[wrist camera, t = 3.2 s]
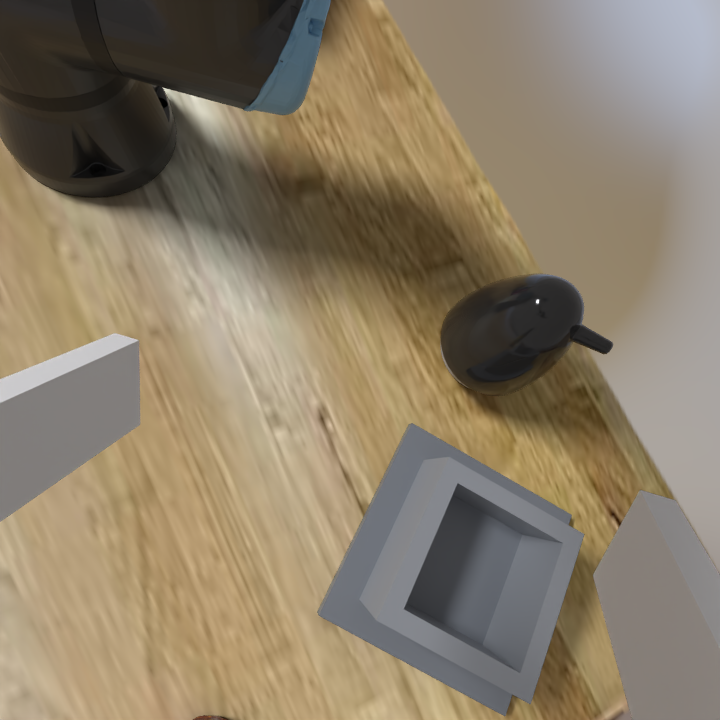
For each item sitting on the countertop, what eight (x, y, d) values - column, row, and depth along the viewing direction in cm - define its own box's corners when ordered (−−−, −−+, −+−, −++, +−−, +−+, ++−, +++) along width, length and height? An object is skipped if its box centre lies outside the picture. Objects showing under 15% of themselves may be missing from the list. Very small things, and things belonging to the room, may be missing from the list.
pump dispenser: (487, 424, 45) (591, 398, 31) (407, 357, 45) (475, 300, 31) (536, 351, 49) (651, 297, 34) (462, 289, 49) (546, 209, 34)
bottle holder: (317, 612, 38) (329, 640, 31) (408, 424, 44) (435, 414, 37) (499, 710, 39) (548, 757, 32) (565, 514, 45) (618, 520, 38)
